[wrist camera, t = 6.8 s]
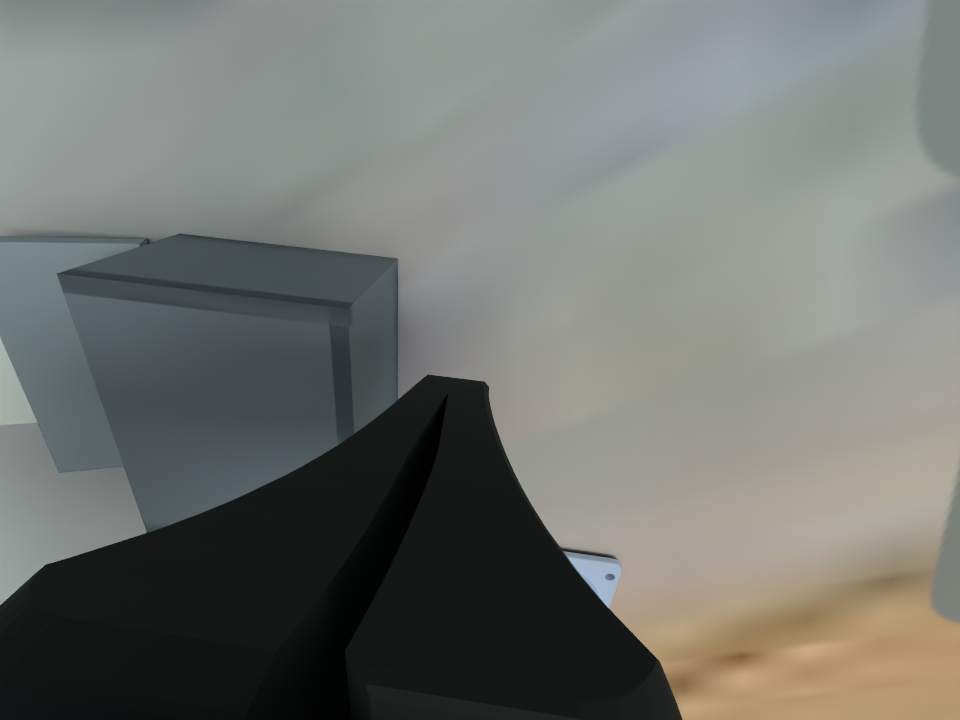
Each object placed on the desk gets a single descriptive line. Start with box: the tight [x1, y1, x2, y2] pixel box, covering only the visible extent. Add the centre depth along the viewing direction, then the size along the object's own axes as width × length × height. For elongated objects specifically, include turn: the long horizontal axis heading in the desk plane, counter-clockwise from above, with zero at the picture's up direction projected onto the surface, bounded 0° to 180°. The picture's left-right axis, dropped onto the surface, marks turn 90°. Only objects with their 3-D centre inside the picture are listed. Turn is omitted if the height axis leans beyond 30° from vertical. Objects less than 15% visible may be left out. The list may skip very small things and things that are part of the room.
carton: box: [57, 234, 398, 533], centre depth 19 cm, size 11×9×6 cm
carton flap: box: [0, 236, 147, 473], centre depth 20 cm, size 11×1×9 cm
